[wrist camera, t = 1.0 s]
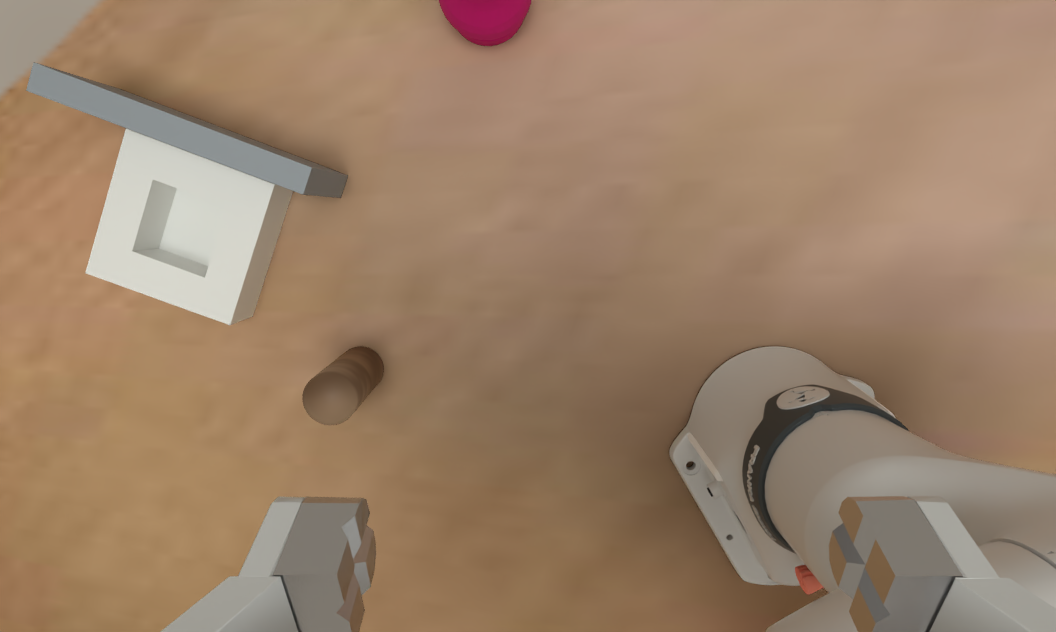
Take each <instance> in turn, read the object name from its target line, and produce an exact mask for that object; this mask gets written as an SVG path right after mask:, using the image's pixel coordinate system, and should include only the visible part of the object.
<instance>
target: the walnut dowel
mask: <svg viewBox="0 0 1056 632" xmlns="http://www.w3.org/2000/svg"><path fill="white" fill-rule="evenodd" d="M383 372H384V366H383V362H382V360H381V358H380V356H379V355H378V354H377V353H376V352H375V351H373V350H372V349H370V348H367V347H354V348H351V349H349V350H348V351H346V352H345V353H344V354H343V355H341V356H340V357H339V358H338V359H336V360H335V361H334V362H333V363H331V364H330V365H329V366H328V367H326V368H325V369H324V370H322V371H321V372H320V373H319V374H317V375H316V376H315V377H314V378H312V379H311V380H310V381H309V382H308V383H307V385H306V386H305V388H304V391H303V405H304V408H305V410H306V412H307V413H308V415H309V416H310V417H311V418H312V419H314V420H315V421H317V422H319V423H321V424H324V425H337V424H340V423H343V422H344V421H346V420H347V419H348V418H349V417H350V416H351V415H352V414H353V413H354V412H355V410H356V409H357V408H358V407H359V406H360V404H361V403H362V402H363V401H364V400H365V399H366V397H367V396H368V395H369V394H370V393H371V391H372V390H373V389H374V388H375V387H376V385H377V384H378V383H379V382H380V380H381V379H382V376H383Z"/></svg>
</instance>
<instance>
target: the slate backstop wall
mask: <svg viewBox="0 0 1056 632" xmlns="http://www.w3.org/2000/svg"><path fill="white" fill-rule="evenodd" d="M26 91H29V92H32V93H34V94H37V95H40V96H42V97H45V98H48V99H50V100H53V101H56V102H58V103H61V104H64V105H66V106H69V107H72V108H74V109H77V110H80V111H82V112H85V113H88V114H90V115H93V116H95V117H98V118H101V119H103V120H106V121H109V122H111V123H114V124H117V125H119V126H122V127H125V128H127V129H130V130H133V131H135V132H138V133H141V134H143V135H146V136H149V137H151V138H154V139H157V140H159V141H162V142H165V143H167V144H170V145H173V146H175V147H178V148H181V149H183V150H186V151H189V152H191V153H194V154H197V155H199V156H202V157H205V158H207V159H210V160H213V161H215V162H218V163H221V164H223V165H226V166H228V167H231V168H234V169H236V170H239V171H242V172H244V173H247V174H250V175H252V176H255V177H258V178H260V179H263V180H266V181H268V182H271V183H274V184H276V185H279V186H282V187H284V188H287V189H290V190H292V191H295V192H298V193H300V194H303V195H314V196H325V197H337V198H341V196H342V193H343V190H344V187H345V183H346V180H347V177H348V175H345V174H343V173H340V172H337V171H335V170H332V169H329V168H327V167H324V166H321V165H319V164H316V163H314V162H311V161H308V160H306V159H303V158H300V157H298V156H295V155H292V154H290V153H287V152H285V151H282V150H279V149H277V148H274V147H271V146H269V145H266V144H263V143H261V142H258V141H256V140H253V139H250V138H248V137H245V136H242V135H240V134H237V133H234V132H232V131H229V130H227V129H224V128H221V127H219V126H216V125H213V124H211V123H208V122H206V121H203V120H200V119H198V118H195V117H192V116H190V115H187V114H184V113H182V112H179V111H177V110H174V109H171V108H169V107H166V106H163V105H161V104H158V103H155V102H153V101H150V100H148V99H145V98H142V97H140V96H137V95H134V94H132V93H129V92H126V91H124V90H121V89H118V88H115V87H112V86H109V85H105V84H102V83H99V82H96V81H92V80H89V79H86V78H83V77H80V76H76V75H73V74H70V73H67V72H63V71H60V70H57V69H54V68H51V67H47V66H44V65H41V64H38V63H35V62H34V63H33V66H32V70H31V74H30V78H29V82H28V86H27V90H26Z"/></svg>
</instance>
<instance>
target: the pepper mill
mask: <svg viewBox="0 0 1056 632" xmlns="http://www.w3.org/2000/svg"><path fill="white" fill-rule="evenodd" d="M439 3H440V6H441V9H442V11H443V13H444V15H445V17H446V18H447V20H448V21H449V22H450V23H451V25H452V26H453V27H454V28H455V29H457V30H458V31H459V32H460V34H461V35H462V36H463V37H465V38H466V39H467V40H469V41H471V42H473V43H475V44H478V45H483V46H493V45H498V44H501V43H503V42H505V41H507V40H508V39H510V38H511V37H512V36H513V35H514V34H515V33H516V32H517V31H518V29H519V28H520V26H521V25H522V22H523V20H524V18H525V16H526V14H527V13H528V10H529V7H530V4H531V0H439Z"/></svg>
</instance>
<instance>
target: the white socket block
mask: <svg viewBox="0 0 1056 632" xmlns="http://www.w3.org/2000/svg"><path fill="white" fill-rule="evenodd" d="M292 193H293V191H292V190H290V189H287V188H284V187H282V186H279V185H276V184H274V183H271V182H268V181H266V180H263V179H260V178H258V177H255V176H252V175H250V174H247V173H244V172H242V171H239V170H236V169H234V168H231V167H228V166H226V165H223V164H221V163H218V162H215V161H213V160H210V159H207V158H205V157H202V156H199V155H197V154H194V153H191V152H189V151H186V150H183V149H181V148H178V147H175V146H173V145H170V144H167V143H165V142H162V141H159V140H157V139H154V138H151V137H149V136H146V135H143V134H141V133H138V132H135V131H133V130H130V129H126V130H125V134H124V138H123V141H122V145H121V148H120V152H119V155H118V159H117V162H116V166H115V170H114V173H113V177H112V180H111V184H110V187H109V191H108V195H107V198H106V202H105V205H104V209H103V212H102V216H101V219H100V223H99V227H98V230H97V234H96V237H95V241H94V244H93V248H92V252H91V255H90V259H89V262H88V266H87V269H86V273H87V274H89V275H92V276H95V277H98V278H100V279H103V280H106V281H109V282H112V283H114V284H117V285H120V286H123V287H125V288H128V289H131V290H134V291H137V292H139V293H142V294H145V295H148V296H150V297H153V298H156V299H159V300H161V301H164V302H167V303H170V304H173V305H175V306H178V307H181V308H184V309H186V310H189V311H192V312H195V313H198V314H200V315H203V316H206V317H209V318H211V319H214V320H217V321H220V322H223V323H225V324H228V325H232V324H234V323H237V322H240V321H242V320H245V319H247V318H250V317H253V315H254V311H255V308H256V305H257V302H258V299H259V296H260V293H261V290H262V287H263V283H264V280H265V277H266V274H267V271H268V268H269V265H270V262H271V259H272V255H273V252H274V249H275V246H276V243H277V240H278V237H279V234H280V231H281V227H282V224H283V221H284V218H285V215H286V212H287V209H288V206H289V203H290V199H291V196H292Z"/></svg>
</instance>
